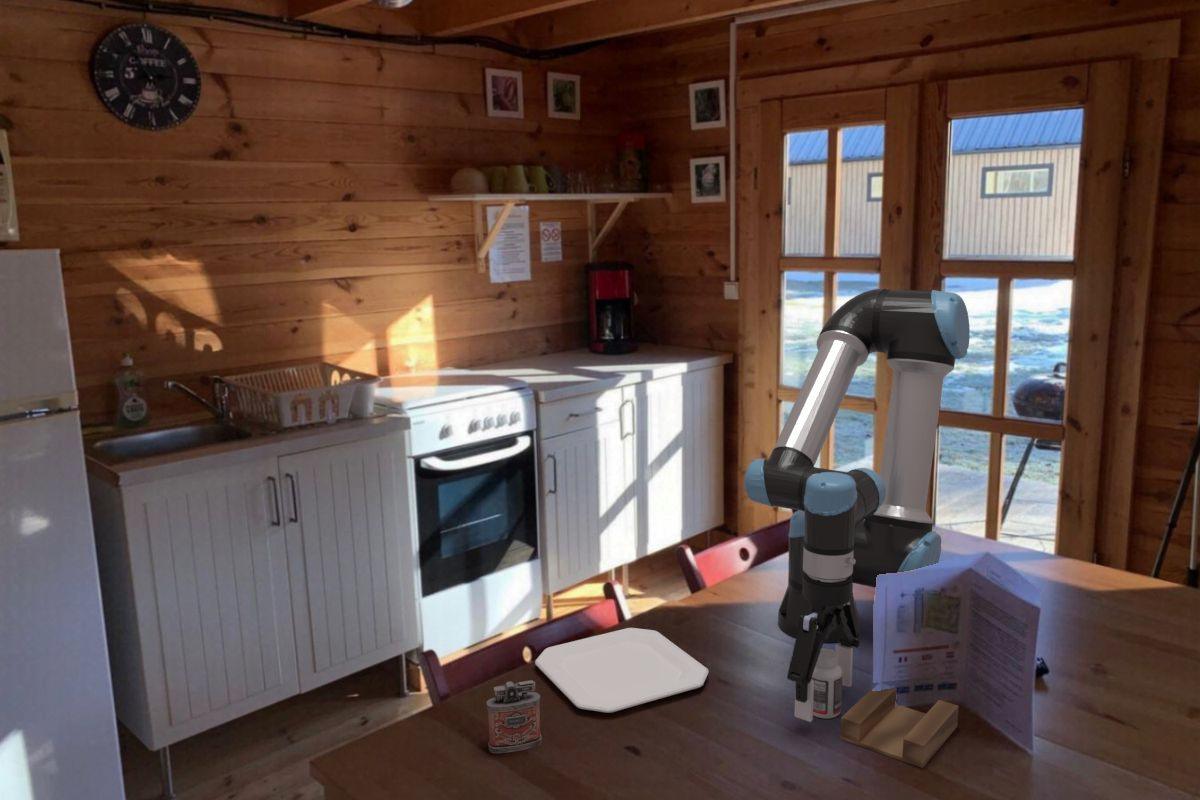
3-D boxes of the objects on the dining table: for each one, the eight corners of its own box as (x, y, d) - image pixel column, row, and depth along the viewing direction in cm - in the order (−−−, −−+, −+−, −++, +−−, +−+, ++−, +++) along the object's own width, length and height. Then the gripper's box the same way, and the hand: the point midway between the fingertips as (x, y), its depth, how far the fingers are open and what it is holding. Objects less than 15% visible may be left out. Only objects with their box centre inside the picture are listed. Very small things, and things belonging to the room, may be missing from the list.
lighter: (490, 755, 142) (487, 693, 140) (486, 743, 145) (484, 682, 143) (544, 746, 144) (542, 684, 142) (538, 734, 147) (536, 674, 145)
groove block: (840, 738, 145) (840, 717, 144) (878, 701, 155) (879, 681, 155) (922, 768, 137) (923, 745, 136) (957, 726, 147) (958, 705, 147)
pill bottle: (831, 700, 156) (832, 644, 154) (847, 716, 151) (849, 658, 149) (800, 705, 155) (801, 648, 153) (815, 721, 150) (817, 663, 148)
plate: (526, 663, 171) (525, 651, 171) (647, 633, 182) (647, 622, 182) (588, 728, 149) (588, 715, 149) (721, 690, 160) (721, 677, 160)
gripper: (812, 606, 136) (808, 742, 141) (884, 555, 155) (879, 677, 159) (765, 593, 141) (763, 725, 145) (841, 545, 160) (837, 664, 164)
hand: (823, 700), depth 152 cm, fingers open, 13 cm apart
